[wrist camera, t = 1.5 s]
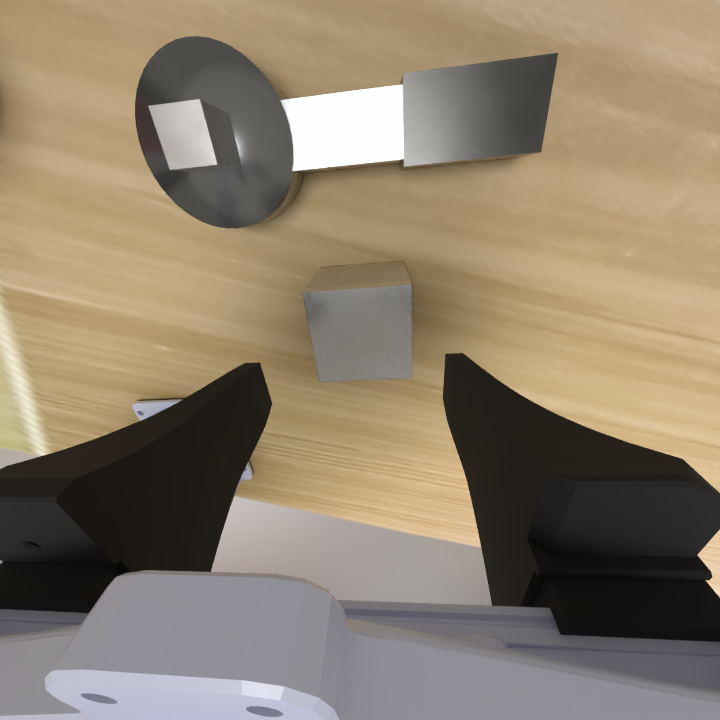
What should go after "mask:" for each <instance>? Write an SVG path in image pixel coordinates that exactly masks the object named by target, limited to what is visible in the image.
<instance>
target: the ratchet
mask: <svg viewBox="0 0 720 720" xmlns="http://www.w3.org/2000/svg"><path fill="white" fill-rule="evenodd" d="M557 56H558V53H554V54H547V55H539V56H532V57H524V58H517V59H509V60H502V61H494V62H487V63H479V64H471V65H464V66H456V67H449V68H441V69H434V70H426V71H419V72H411V73H403V75H402V80H401V85H394V86H386V87H379V88H371V89H363V90H355V91H348V92H340V93H332V94H325V95H317V96H309V97H301V98H294V99H286V98H285V96H284V95H283V94H282V92H281V91H280V90H279V89H278V88H277V87H276V86H275V85H274V84H273V83H272V82H271V81H270V80H269V79H268V78H267V77H266V76H265V75H264V74H263V73H262V72H261V71H260V70H259V69H258V68H257V67H256V66H255V65H254V64H253V63H252V62H251V61H250V60H249V59H248V58H247V57H245V56H244V55H243V54H242V53H240V52H239V51H237V50H236V49H234V48H233V47H231V46H229V45H227V44H225V43H223V42H221V41H218V40H214V39H211V38H206V37H199V36H195V37H184V38H180V39H176V40H174V41H172V42H170V43H168V44H166V45H165V46H163V47H162V48H161V49H159V50H158V51H157V52H156V53H155V54H154V55H153V57H152V58H151V59H150V60H149V62H148V63H147V65H146V67H145V68H144V70H143V73H142V75H141V78H140V80H139V84H138V88H137V93H136V101H135V119H136V128H137V133H138V138H139V142H140V145H141V148H142V152H143V154H144V157H145V159H146V162H147V164H148V166H149V168H150V170H151V172H152V173H153V175H154V177H155V178H156V180H157V182H158V183H159V185H160V186H161V187H162V189H163V190H164V191H165V192H166V194H167V195H168V196H169V197H170V198H171V199H172V200H173V201H174V202H175V203H176V204H177V205H178V206H179V207H180V208H182V209H183V210H184V211H185V212H187V213H188V214H190V215H191V216H193V217H195V218H196V219H198V220H200V221H202V222H205V223H207V224H210V225H213V226H217V227H222V228H241V227H246V226H250V225H253V224H257V223H260V222H263V221H267V220H270V219H272V218H274V217H276V216H278V215H279V214H281V213H282V212H284V211H285V210H286V209H287V208H288V207H289V206H290V204H291V203H292V202H293V200H294V199H295V197H296V195H297V194H298V192H299V189H300V187H301V184H302V180H303V176H304V173H310V172H320V171H329V170H339V169H348V168H357V167H367V166H376V165H385V164H395V163H400V170H403V169H412V168H422V167H431V166H441V165H450V164H460V163H470V162H479V161H489V160H498V159H508V158H517V157H521V156H526V155H530V154H535V153H539V152H541V149H542V143H543V138H544V132H545V126H546V120H547V114H548V109H549V103H550V97H551V91H552V85H553V80H554V74H555V68H556V62H557Z"/></svg>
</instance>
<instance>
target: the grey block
mask: <svg viewBox="0 0 720 720" xmlns="http://www.w3.org/2000/svg"><path fill="white" fill-rule="evenodd" d="M303 297H304V302H305V308H306V313H307V319H308V324H309V329H310V335H311V340H312V346H313V351H314V357H315V362H316V367H317V373H318V378H319V382H336V381H358V380H381V379H403V378H412V284H411V281H410V278H409V276H408V273H407V270H406V267H405V264H404V261H397V262H384V263H371V264H358V265H345V266H333V267H321V268H320V269H319V271H318V272H317V273H316V275H315V276H314V278H313V279H312V280H311V282H310V283H309V284H308V286H307V287H306V289H305V290H304V291H303Z"/></svg>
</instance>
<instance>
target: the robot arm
mask: <svg viewBox="0 0 720 720" xmlns="http://www.w3.org/2000/svg"><path fill="white" fill-rule="evenodd" d="M443 401H444V407H445V412H446V417H447V421H448V425H449V428H450V431H451V434H452V437H453V440H454V443H455V445H456V448H457V451H458V454H459V457H460V460H461V463H462V466H463V469H464V472H465V476H466V479H467V482H468V487H469V491H470V496H471V500H472V504H473V509H474V514H475V518H476V523H477V528H478V533H479V538H480V543H481V548H482V553H483V558H484V563H485V568H486V573H487V579H488V584H489V590H490V596H491V601H492V606H483V605H457V604H431V603H430V604H428V603H402V602H378V601H351V600H336V599H335V597H333V595H332V594H331V593H330V591H329V590H328V589H326V588H323V587H322V586H319V585H317V584H315V583H312V582H311V581H308V580H306V579H304V578H297V577H291V576H285V575H279V574H261V573H226V572H211V568H212V565H213V562H214V558H215V555H216V551H217V548H218V544H219V540H220V537H221V534H222V531H223V528H224V524H225V521H226V518H227V515H228V512H229V508H230V506H231V503H232V500H233V498H234V496H235V494H236V492H237V490H238V488H239V485H240V483H241V481H242V480H249V479H251V478H252V476H253V472H252V469H251V467H250V464H249V459H250V457H251V455H252V453H253V451H254V449H255V447H256V445H257V443H258V441H259V438H260V436H261V434H262V432H263V430H264V428H265V425H266V423H267V419H268V416H269V413H270V409H271V406H272V401H271V398H270V395H269V391H268V388H267V385H266V381H265V378H264V375H263V371H262V368H261V365H260V363H245V364H243V365H240V366H238V367H237V368H235V369H233V370H231V371H230V372H228V373H226V374H225V375H223V376H221V377H220V378H218V379H217V380H215V381H213V382H212V383H210V384H208V385H207V386H205V387H204V388H202V389H200V390H199V391H197V392H195V393H193V394H192V395H190V396H188V397H186V398H185V399H177V400H153V401H136V402H135V403H134V404H133V405H132V408H133V410H134V412H135V413H136V415H137V417H138V418H139V420H140V421H139V422H137V423H134V424H132V425H129V426H127V427H125V428H122V429H120V430H117V431H115V432H112V433H110V434H107V435H105V436H102V437H99V438H97V439H94V440H91V441H88V442H85V443H82V444H79V445H76V446H73V447H70V448H67V449H64V450H61V451H58V452H55V453H51V454H48V455H44V456H41V457H37V458H34V459H30V460H27V461H23V462H20V463H16V464H13V465H9V466H6V467H4V468H2V469H0V720H720V598H719V597H718V595H717V594H716V593H715V592H714V590H713V589H712V588H711V587H710V585H709V584H708V583H707V582H706V581H705V580H710V579H711V578H712V574H711V571H710V570H709V569H708V567H707V566H706V565H705V564H704V563H703V562H702V560H701V559H700V558H699V557H698V556H697V555H698V553H699V552H700V551H701V550H702V549H703V548H704V547H705V545H706V544H707V543H708V542H709V541H710V540H711V539H712V537H713V536H714V535H715V534H716V533H717V532H718V531H719V529H720V493H719V492H718V491H717V490H716V489H715V488H714V487H712V486H711V485H710V484H709V483H708V482H707V481H706V480H705V479H704V478H703V477H702V476H701V475H699V474H698V473H697V472H696V471H695V470H694V469H693V468H692V467H691V466H690V465H689V464H687V463H686V462H685V461H684V460H683V459H681V458H678V457H674V456H671V455H668V454H664V453H661V452H658V451H654V450H651V449H648V448H644V447H641V446H638V445H634V444H631V443H628V442H625V441H622V440H619V439H617V438H614V437H611V436H608V435H605V434H603V433H600V432H597V431H595V430H592V429H590V428H587V427H585V426H582V425H580V424H577V423H575V422H573V421H571V420H568V419H566V418H564V417H562V416H559V415H557V414H555V413H553V412H551V411H549V410H547V409H545V408H543V407H541V406H539V405H538V404H536V403H534V402H532V401H530V400H528V399H527V398H525V397H523V396H521V395H520V394H518V393H517V392H515V391H514V390H512V389H510V388H509V387H507V386H506V385H504V384H503V383H501V382H500V381H498V380H497V379H496V378H494V377H493V376H492V375H490V374H489V373H488V372H486V371H485V370H484V369H482V368H481V367H480V366H478V365H477V364H476V363H475V362H473V361H472V360H471V359H470V358H468V357H467V356H466V355H464V354H463V353H456V354H446V355H445V372H444V389H443Z"/></svg>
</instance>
